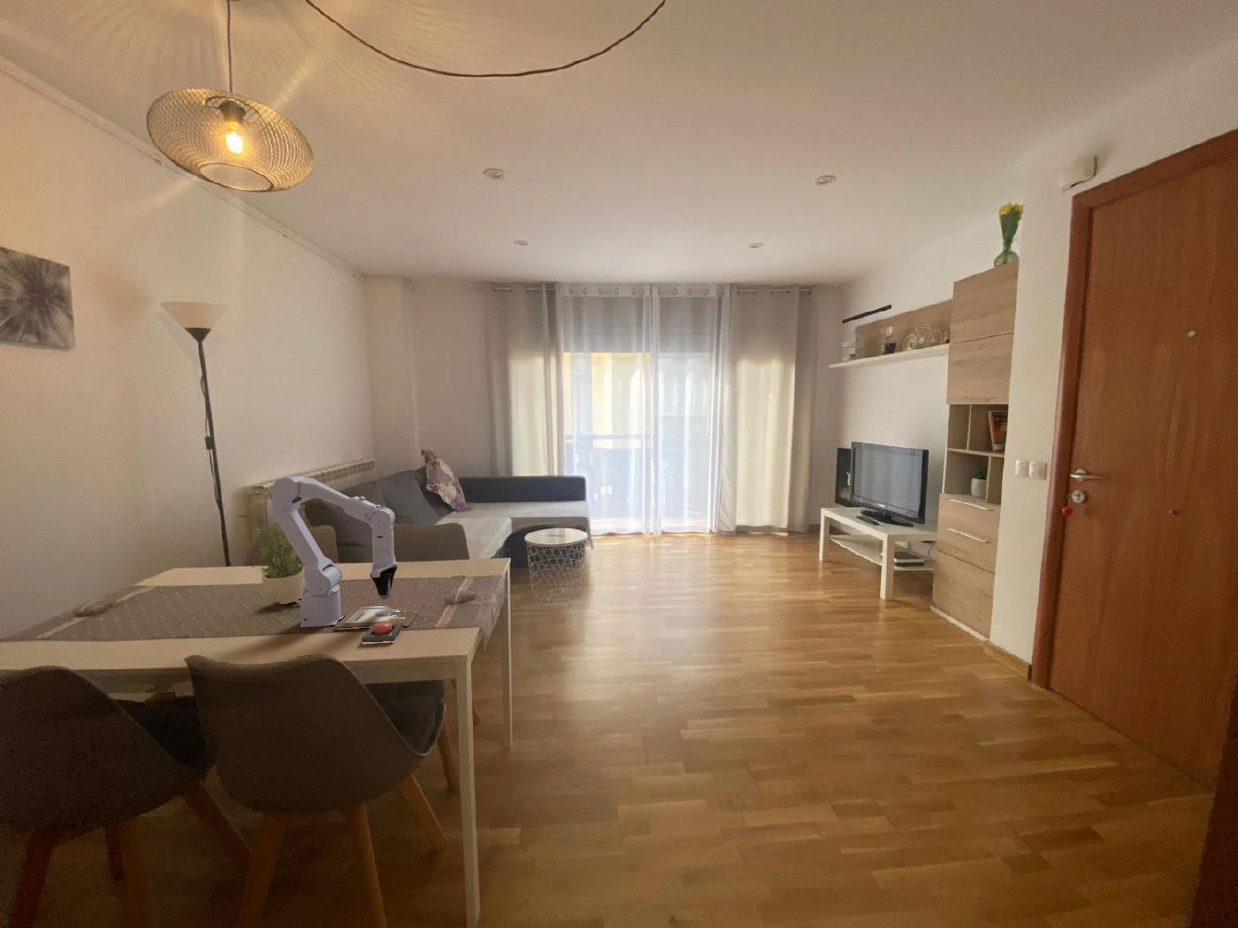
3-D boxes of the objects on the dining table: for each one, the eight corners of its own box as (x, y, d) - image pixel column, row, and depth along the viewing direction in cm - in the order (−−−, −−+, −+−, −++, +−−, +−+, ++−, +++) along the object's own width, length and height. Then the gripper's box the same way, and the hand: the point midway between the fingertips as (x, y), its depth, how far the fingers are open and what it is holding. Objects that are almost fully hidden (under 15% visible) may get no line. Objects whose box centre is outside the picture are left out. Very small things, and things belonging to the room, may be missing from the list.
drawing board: (334, 630, 129) (334, 626, 129) (357, 608, 145) (357, 604, 145) (409, 626, 132) (409, 622, 132) (424, 604, 148) (424, 601, 148)
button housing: (361, 644, 121) (361, 637, 121) (373, 631, 129) (373, 624, 128) (394, 643, 122) (393, 635, 122) (403, 629, 130) (403, 622, 130)
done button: (371, 635, 123) (371, 628, 122) (377, 628, 127) (377, 621, 127) (388, 634, 123) (388, 627, 123) (394, 627, 128) (394, 620, 127)
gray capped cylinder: (378, 599, 136) (377, 580, 136) (381, 596, 139) (381, 576, 139) (389, 599, 137) (388, 579, 136) (392, 595, 140) (391, 576, 139)
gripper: (389, 555, 130) (390, 601, 131) (405, 542, 144) (406, 584, 146) (362, 556, 129) (364, 602, 130) (381, 542, 143) (382, 585, 144)
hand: (385, 593), depth 138 cm, fingers closed on gray capped cylinder, 3 cm apart
